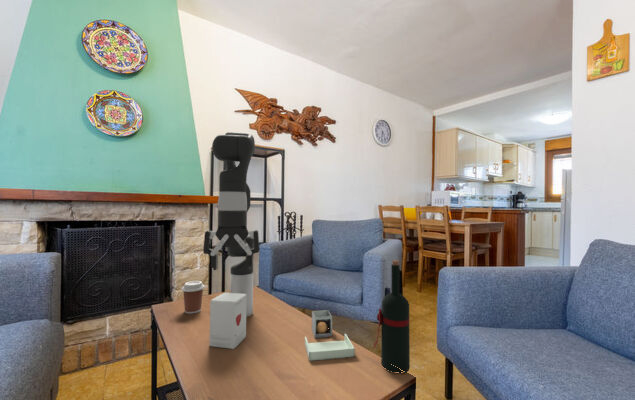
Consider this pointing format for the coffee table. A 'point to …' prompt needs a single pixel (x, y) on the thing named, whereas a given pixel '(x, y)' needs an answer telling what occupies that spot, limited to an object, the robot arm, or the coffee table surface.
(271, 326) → the coffee table surface
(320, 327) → the ball
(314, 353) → the tray
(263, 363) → the coffee table surface
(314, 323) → the grey hollow box
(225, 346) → the supplement box
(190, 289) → the coffee cup
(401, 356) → the wine bottle
